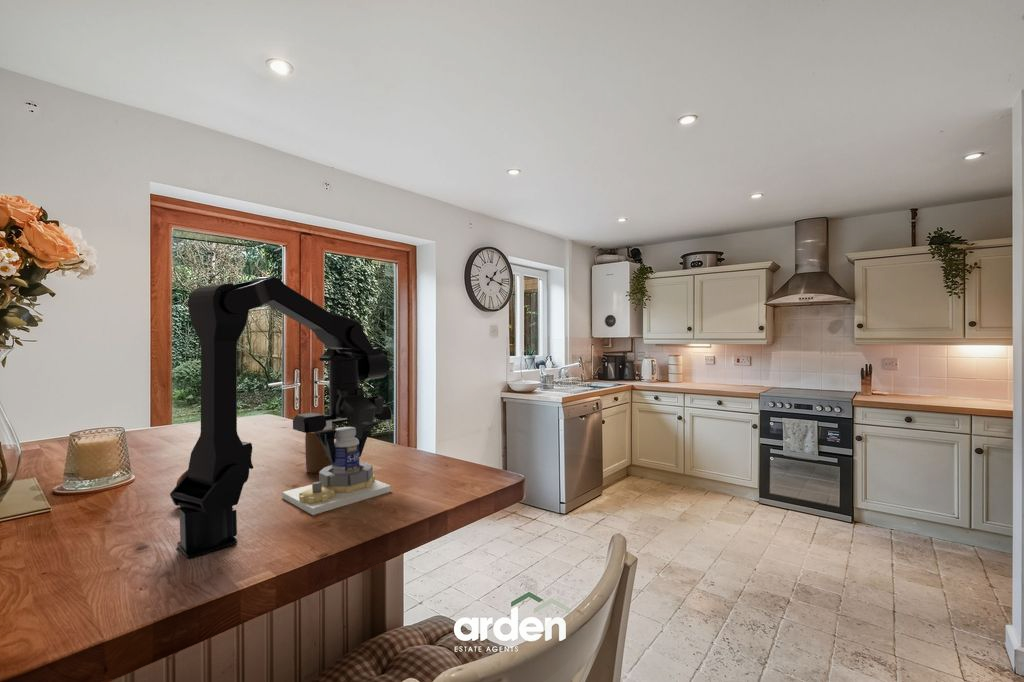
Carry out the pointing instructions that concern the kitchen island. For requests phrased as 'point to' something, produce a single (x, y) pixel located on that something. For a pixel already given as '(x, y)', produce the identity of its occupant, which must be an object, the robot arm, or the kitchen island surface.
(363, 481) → the gear board
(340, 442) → the pill bottle
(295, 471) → the kitchen island surface
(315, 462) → the mug
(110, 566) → the kitchen island surface
